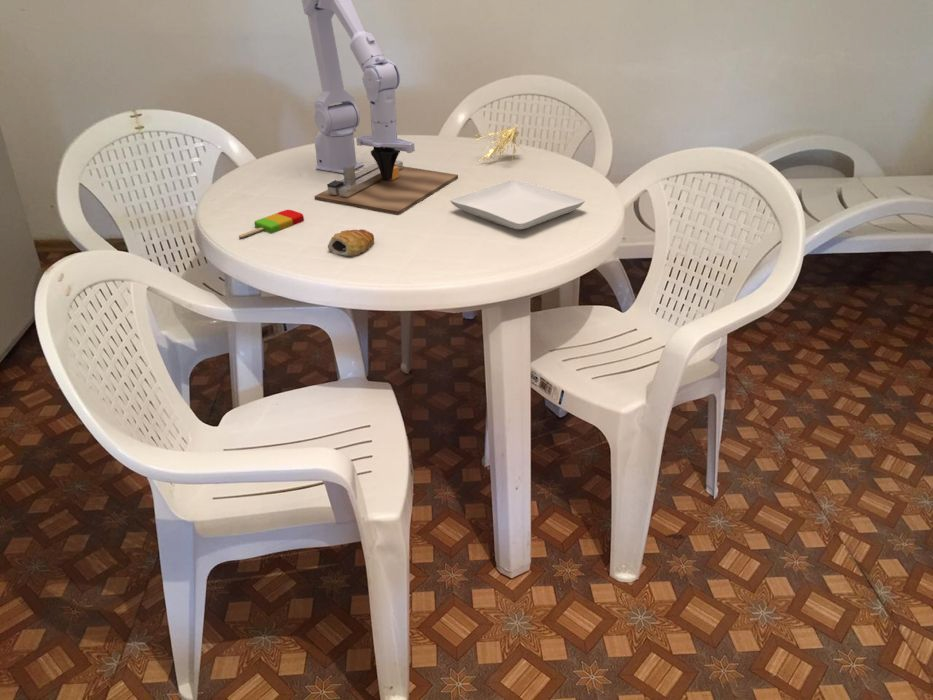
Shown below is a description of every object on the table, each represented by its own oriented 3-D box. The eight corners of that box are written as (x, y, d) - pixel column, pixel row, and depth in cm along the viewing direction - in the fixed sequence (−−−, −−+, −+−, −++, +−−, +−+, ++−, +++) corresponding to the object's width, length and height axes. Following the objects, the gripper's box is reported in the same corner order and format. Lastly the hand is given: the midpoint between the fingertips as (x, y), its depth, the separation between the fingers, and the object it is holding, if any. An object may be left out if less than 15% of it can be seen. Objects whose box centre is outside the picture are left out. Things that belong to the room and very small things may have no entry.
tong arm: (382, 173, 176) (380, 148, 172) (390, 174, 175) (388, 149, 172) (339, 195, 162) (336, 169, 159) (347, 197, 161) (345, 170, 158)
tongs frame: (385, 165, 181) (384, 156, 180) (402, 167, 179) (402, 159, 178) (328, 193, 163) (327, 184, 162) (347, 197, 161) (346, 187, 160)
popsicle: (306, 222, 152) (305, 213, 151) (248, 244, 142) (247, 235, 141) (289, 216, 155) (288, 208, 154) (231, 238, 145) (230, 229, 144)
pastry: (357, 236, 145) (355, 218, 143) (383, 244, 142) (382, 225, 140) (325, 252, 138) (323, 234, 136) (352, 260, 135) (351, 242, 133)
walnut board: (381, 166, 184) (381, 162, 184) (458, 178, 176) (458, 174, 175) (314, 199, 163) (314, 196, 163) (398, 215, 154) (398, 211, 154)
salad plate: (513, 190, 169) (513, 176, 167) (586, 213, 156) (587, 198, 154) (447, 213, 156) (447, 198, 155) (520, 240, 143) (521, 224, 142)
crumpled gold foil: (470, 169, 191) (460, 139, 184) (509, 138, 195) (500, 108, 189) (500, 179, 183) (490, 149, 177) (539, 147, 188) (531, 116, 182)
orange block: (390, 175, 174) (390, 165, 173) (399, 176, 173) (398, 166, 172) (384, 178, 172) (383, 168, 171) (392, 180, 171) (392, 170, 170)
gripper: (346, 120, 163) (351, 179, 170) (401, 128, 157) (404, 188, 164) (364, 113, 168) (368, 171, 175) (418, 120, 162) (420, 179, 169)
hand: (387, 179), depth 170 cm, fingers closed, pressing on orange block
